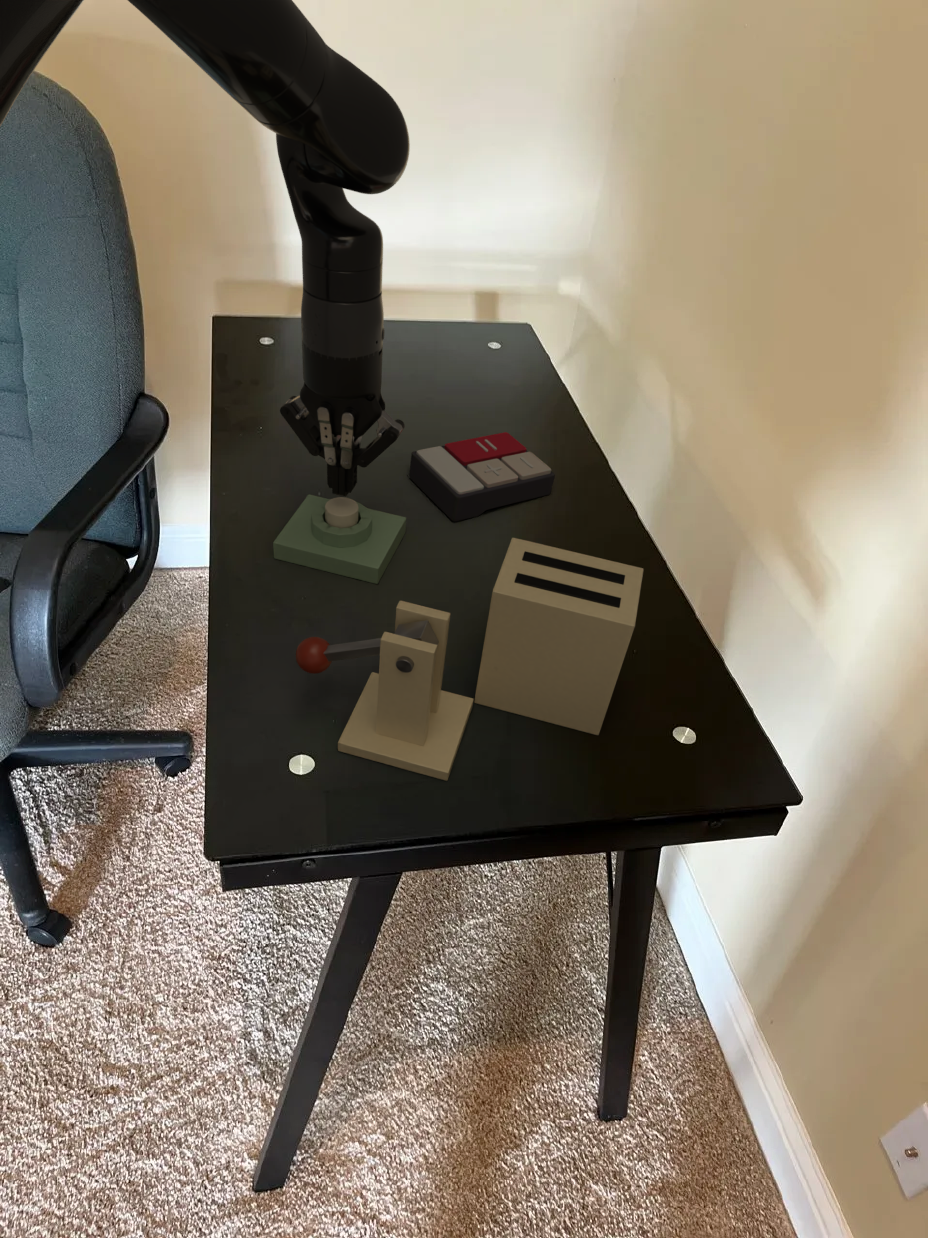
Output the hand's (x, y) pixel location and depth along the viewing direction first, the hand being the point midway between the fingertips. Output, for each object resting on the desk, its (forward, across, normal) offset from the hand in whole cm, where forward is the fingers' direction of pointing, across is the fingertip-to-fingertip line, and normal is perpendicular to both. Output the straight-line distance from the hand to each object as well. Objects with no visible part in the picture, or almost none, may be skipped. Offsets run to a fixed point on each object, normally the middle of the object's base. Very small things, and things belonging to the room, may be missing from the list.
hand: (342, 491), depth 89 cm
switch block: (+7, 0, 0) cm, 7 cm away
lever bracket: (+7, +15, -23) cm, 28 cm away
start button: (+4, 0, 0) cm, 4 cm away
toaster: (+7, +26, -14) cm, 30 cm away
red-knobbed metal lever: (0, +11, -23) cm, 26 cm away
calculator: (+8, +12, +18) cm, 23 cm away
